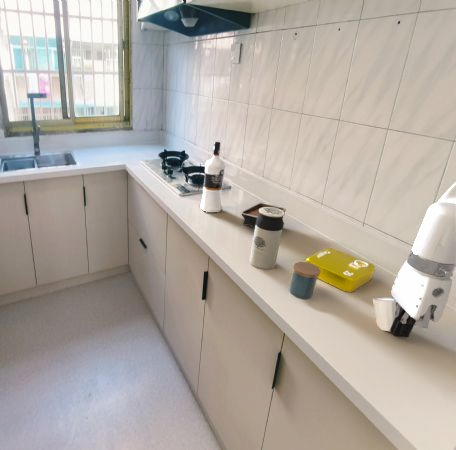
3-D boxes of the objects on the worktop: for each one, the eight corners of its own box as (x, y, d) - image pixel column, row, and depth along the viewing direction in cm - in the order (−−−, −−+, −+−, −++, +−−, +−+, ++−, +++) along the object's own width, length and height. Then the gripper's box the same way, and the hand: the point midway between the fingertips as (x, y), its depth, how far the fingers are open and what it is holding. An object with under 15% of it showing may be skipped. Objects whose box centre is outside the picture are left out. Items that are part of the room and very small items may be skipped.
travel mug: (264, 255, 113) (273, 205, 106) (280, 267, 107) (291, 214, 99) (244, 259, 110) (252, 208, 103) (260, 271, 104) (270, 217, 96)
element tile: (326, 257, 113) (329, 245, 111) (373, 278, 102) (378, 264, 100) (301, 270, 105) (304, 257, 103) (349, 294, 94) (354, 279, 92)
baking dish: (234, 230, 136) (236, 208, 131) (259, 213, 146) (262, 193, 141) (265, 245, 127) (269, 222, 122) (290, 226, 137) (294, 205, 132)
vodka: (210, 204, 157) (217, 139, 145) (225, 211, 150) (233, 142, 138) (195, 208, 152) (201, 140, 140) (210, 215, 145) (217, 144, 133)
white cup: (369, 329, 80) (367, 299, 80) (380, 325, 84) (378, 296, 85) (404, 334, 74) (402, 301, 75) (414, 329, 79) (411, 299, 79)
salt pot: (309, 287, 97) (315, 262, 94) (316, 301, 91) (323, 275, 88) (285, 285, 97) (291, 260, 94) (291, 298, 91) (297, 273, 88)
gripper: (478, 285, 61) (438, 361, 69) (426, 248, 75) (397, 315, 82) (435, 281, 62) (399, 357, 69) (391, 244, 75) (365, 311, 83)
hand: (398, 334), depth 76 cm, fingers closed
